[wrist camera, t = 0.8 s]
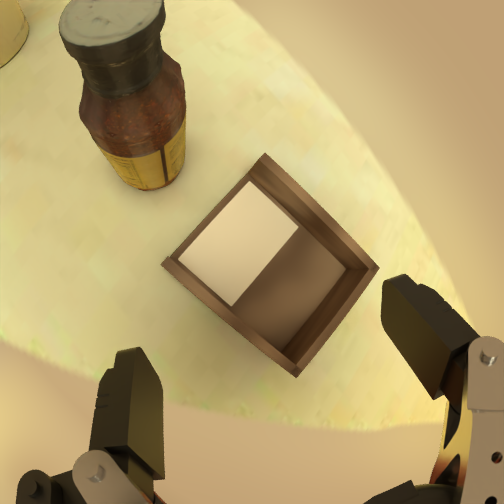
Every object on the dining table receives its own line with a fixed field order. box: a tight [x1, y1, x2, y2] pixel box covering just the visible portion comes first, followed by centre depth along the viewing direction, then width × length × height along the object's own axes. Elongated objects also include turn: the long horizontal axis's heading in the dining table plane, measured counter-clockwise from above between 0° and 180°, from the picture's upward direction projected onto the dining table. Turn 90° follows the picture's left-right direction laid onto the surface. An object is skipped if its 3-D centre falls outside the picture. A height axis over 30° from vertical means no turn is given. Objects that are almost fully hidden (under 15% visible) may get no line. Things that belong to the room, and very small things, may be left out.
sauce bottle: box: [59, 0, 186, 191], centre depth 18 cm, size 7×6×20 cm
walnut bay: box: [161, 153, 379, 378], centre depth 27 cm, size 14×12×5 cm
